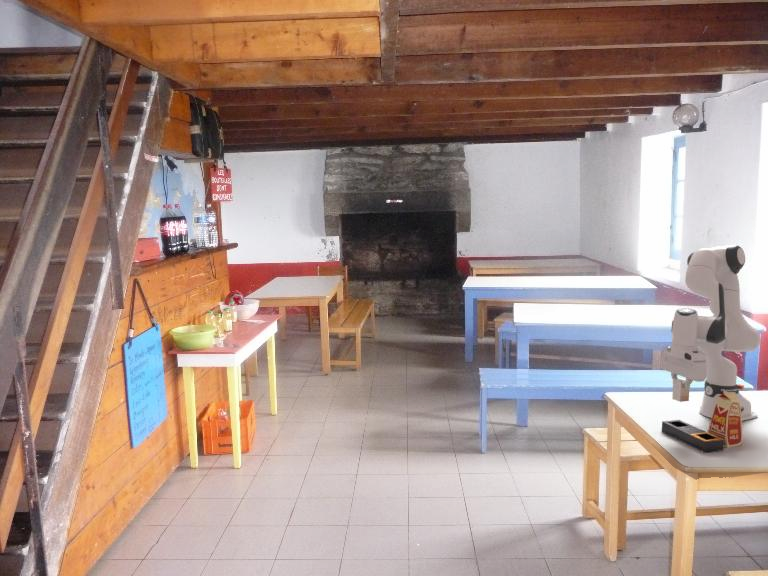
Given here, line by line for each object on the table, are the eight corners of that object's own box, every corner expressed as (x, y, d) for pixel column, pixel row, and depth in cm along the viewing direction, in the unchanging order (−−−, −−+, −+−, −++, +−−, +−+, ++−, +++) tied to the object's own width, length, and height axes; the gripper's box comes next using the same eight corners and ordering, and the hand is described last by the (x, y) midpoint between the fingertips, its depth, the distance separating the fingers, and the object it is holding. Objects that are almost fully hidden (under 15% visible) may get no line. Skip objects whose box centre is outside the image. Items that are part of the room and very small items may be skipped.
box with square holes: (678, 429, 238) (679, 419, 237) (723, 450, 217) (724, 439, 216) (661, 431, 236) (662, 420, 235) (705, 452, 214) (705, 441, 214)
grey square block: (681, 398, 233) (681, 377, 232) (688, 400, 229) (689, 380, 229) (672, 398, 232) (673, 378, 231) (680, 401, 228) (680, 381, 228)
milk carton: (727, 447, 219) (731, 394, 217) (705, 439, 228) (709, 388, 225) (744, 444, 223) (748, 392, 220) (721, 435, 231) (725, 385, 229)
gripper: (657, 345, 238) (655, 379, 239) (696, 358, 218) (694, 395, 220) (670, 345, 239) (668, 378, 241) (711, 357, 220) (708, 393, 221)
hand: (681, 386), depth 230 cm, fingers closed on grey square block, 4 cm apart
